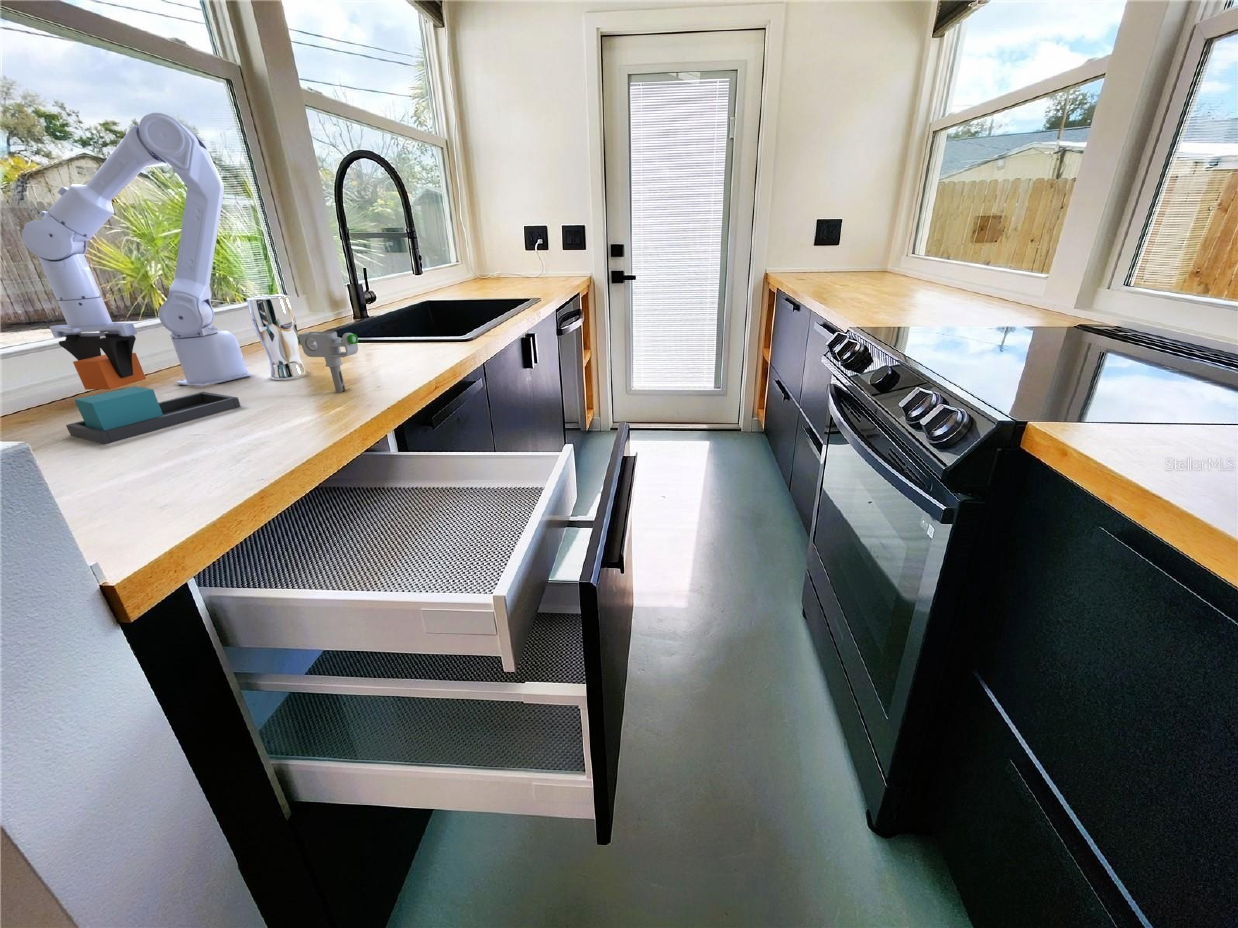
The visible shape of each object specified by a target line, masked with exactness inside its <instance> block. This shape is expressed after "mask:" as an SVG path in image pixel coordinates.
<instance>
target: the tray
mask: <svg viewBox="0 0 1238 928" xmlns="http://www.w3.org/2000/svg"><path fill="white" fill-rule="evenodd" d="M158 403H159V406H160V408H161V411H162V413H163V416H159V417H156V418H152V419H148V420H144V421H140V422H136V423H133V424H129V425H125V426H121V427H117V428H113V429H110V430H106V431H101V430H97V429H93V428H89V427H87V426H86V424H85V422H84V420H80V421H77V422H73V423H68V424H65V426H66V429H67V431H68V433H69V435H70V436H71V437H74V438H79V439H82V440H86V441H90V442H93V443H97V444H99V445H103V446H105V445H108V444H111V443H115V442H119V441H123V440H127V439H130V438H133V437H137V436H141V435H144V434H148V433H151V432H155V431H159V430H162V429H166V428H169V427H173V426H177V425H180V424H181V425H182V424H184V423H187V422H190V421H194V420H199V419H202V418H206V417H208V416H212V415H216V414H219V413H224V412H227V411H230V410H234V409H239V408H241V403H240V400H239V397H237V396H233V395H225V394H220V393H213V392H206V391H199V392H195V393H193V394H187V395H185V396H180V397H175V398H171V399H167V400H163V401H158Z"/></svg>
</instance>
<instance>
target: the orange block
mask: <svg viewBox="0 0 1238 928" xmlns="http://www.w3.org/2000/svg"><path fill="white" fill-rule="evenodd" d="M72 364H73V366H74V368H75V370H76V373H77V374H78V377H79V379H80V381H81V383H82V385H83V387H84V390H87V391H89V390H95V391H96V390H97V391H98V390H113V389H117V388H120V387H125V386H127V385H131V384H135V383H138V382H141V381H145V380H147V378H146V374H145V372H144V370H143V368H142V367H143V366H141V363H140V360H139V358H138V356H137V353H136V352H132V365H133V375H132V376H128V377H125V378H120V377H119V376H118V374H117V373H116V371H115V370H114V368H113V366H112V364H111V362H110V360H109V359H108V357H107V356H106V354H101V356H96V357H92V358H87V359H83V360H74V361H72Z"/></svg>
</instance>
